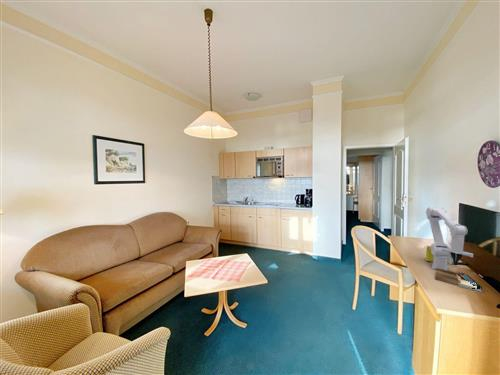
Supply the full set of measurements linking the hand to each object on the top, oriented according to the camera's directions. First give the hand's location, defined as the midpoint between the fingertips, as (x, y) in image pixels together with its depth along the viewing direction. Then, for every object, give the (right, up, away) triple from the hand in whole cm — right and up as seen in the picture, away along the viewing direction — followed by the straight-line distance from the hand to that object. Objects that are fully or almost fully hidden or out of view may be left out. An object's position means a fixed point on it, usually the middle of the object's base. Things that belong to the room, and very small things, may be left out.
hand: (455, 264), depth 134 cm
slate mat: (+1, -10, -7) cm, 12 cm away
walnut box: (-6, -9, 0) cm, 11 cm away
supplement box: (+8, -8, +27) cm, 29 cm away
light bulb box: (+21, -8, +26) cm, 34 cm away
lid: (0, -10, -7) cm, 12 cm away
